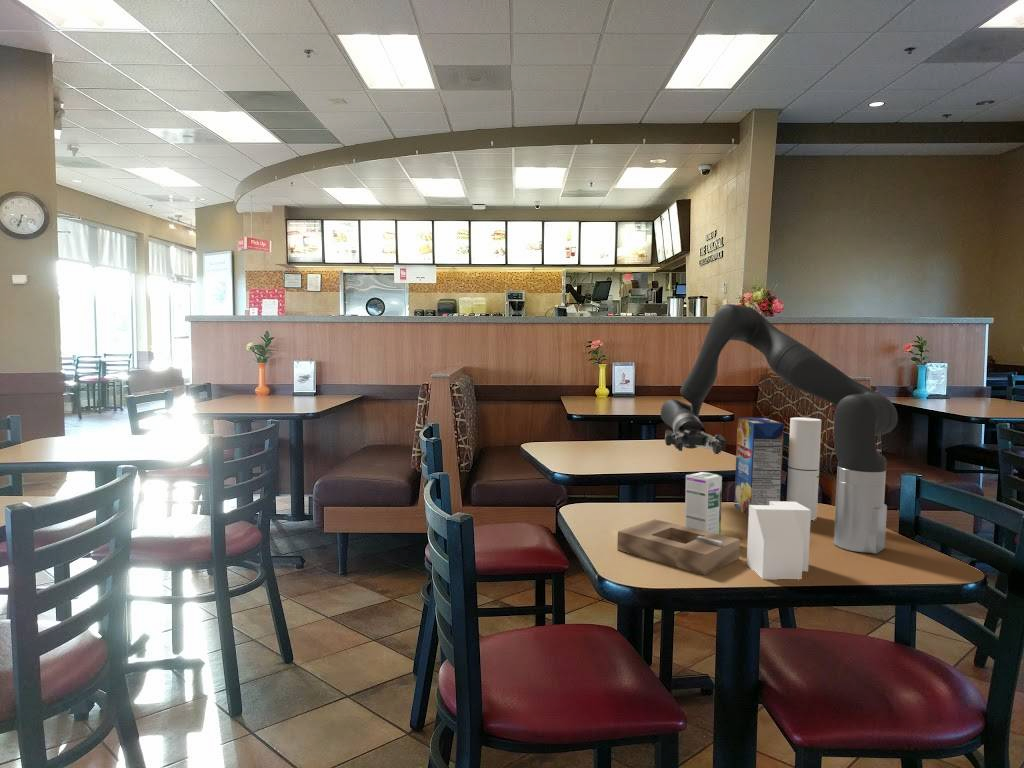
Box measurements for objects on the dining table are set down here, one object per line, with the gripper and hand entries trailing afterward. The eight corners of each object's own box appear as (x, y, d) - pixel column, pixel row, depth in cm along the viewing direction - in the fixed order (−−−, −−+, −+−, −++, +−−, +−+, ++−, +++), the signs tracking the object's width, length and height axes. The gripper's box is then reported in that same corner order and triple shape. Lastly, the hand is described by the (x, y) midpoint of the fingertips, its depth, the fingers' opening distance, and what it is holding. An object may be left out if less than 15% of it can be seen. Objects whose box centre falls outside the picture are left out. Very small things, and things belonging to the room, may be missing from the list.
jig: (739, 558, 132) (740, 535, 132) (705, 575, 122) (705, 550, 122) (654, 536, 146) (654, 515, 146) (617, 550, 136) (617, 527, 136)
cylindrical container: (779, 514, 167) (784, 418, 165) (799, 512, 170) (804, 417, 168) (802, 521, 161) (807, 421, 159) (823, 519, 164) (827, 420, 162)
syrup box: (706, 544, 141) (708, 478, 140) (683, 537, 146) (685, 473, 145) (721, 539, 145) (723, 475, 144) (698, 533, 150) (700, 470, 149)
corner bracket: (793, 559, 132) (795, 501, 131) (819, 580, 121) (822, 516, 120) (740, 559, 132) (743, 500, 131) (762, 579, 121) (764, 515, 120)
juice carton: (734, 505, 176) (737, 417, 174) (761, 506, 175) (765, 417, 174) (749, 517, 164) (753, 423, 162) (779, 518, 164) (783, 423, 162)
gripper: (662, 413, 171) (670, 431, 155) (718, 418, 169) (732, 436, 154) (659, 441, 172) (667, 460, 156) (714, 446, 171) (727, 466, 155)
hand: (699, 448), depth 155 cm, fingers open, 8 cm apart
